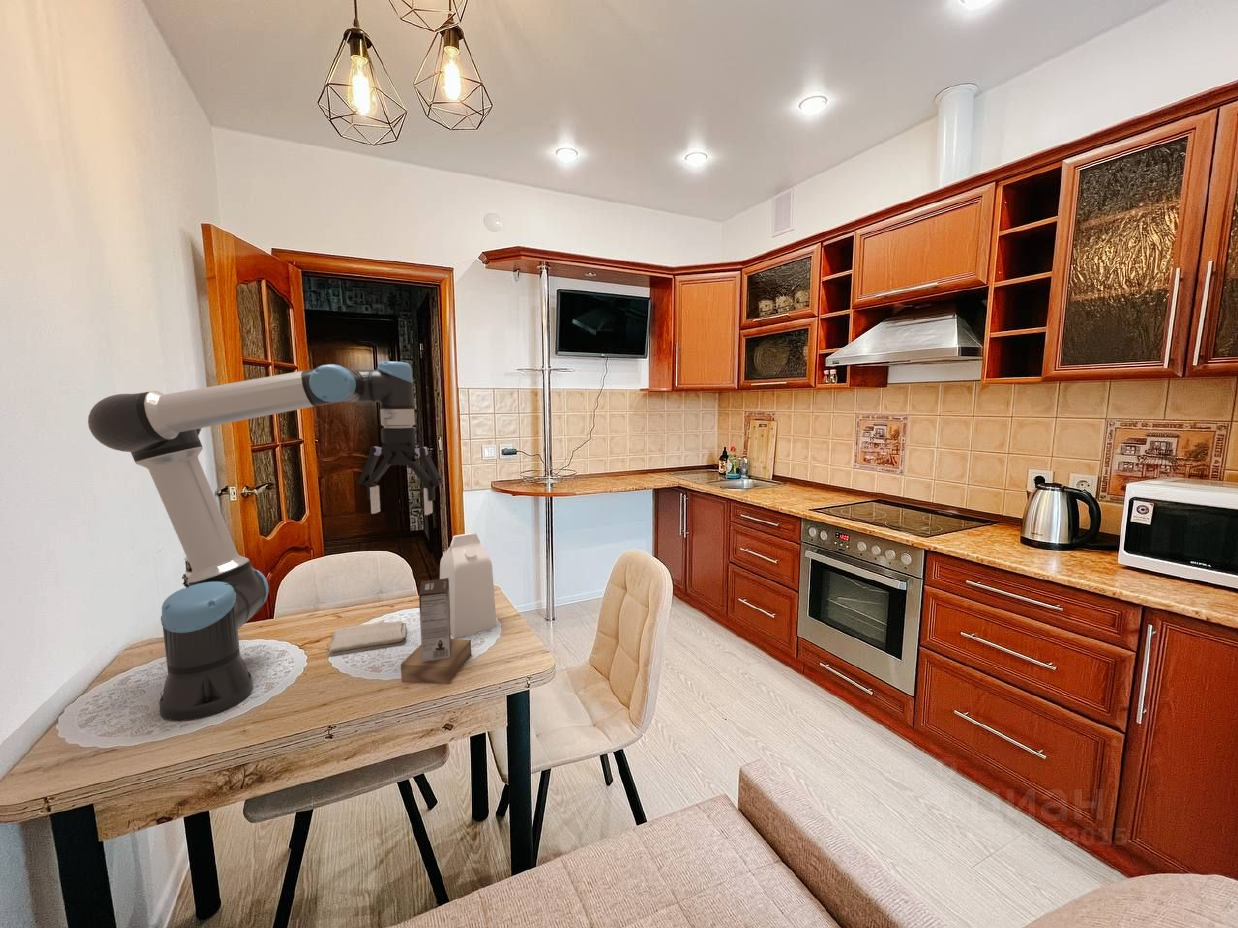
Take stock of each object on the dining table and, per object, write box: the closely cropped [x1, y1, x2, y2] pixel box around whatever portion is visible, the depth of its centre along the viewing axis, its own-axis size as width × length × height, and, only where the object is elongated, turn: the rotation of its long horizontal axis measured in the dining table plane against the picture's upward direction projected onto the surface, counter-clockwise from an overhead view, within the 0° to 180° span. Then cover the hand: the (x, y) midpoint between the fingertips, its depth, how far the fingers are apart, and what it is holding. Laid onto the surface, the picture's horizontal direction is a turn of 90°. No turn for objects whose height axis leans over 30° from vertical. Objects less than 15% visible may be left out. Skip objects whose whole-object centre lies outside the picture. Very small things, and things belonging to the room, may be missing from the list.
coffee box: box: [418, 578, 452, 662], centre depth 118 cm, size 9×6×16 cm
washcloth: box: [328, 620, 407, 657], centre depth 132 cm, size 12×18×3 cm, turn 113°
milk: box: [439, 532, 498, 639], centre depth 141 cm, size 12×12×26 cm
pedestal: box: [400, 638, 472, 685], centre depth 119 cm, size 11×13×4 cm
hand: (402, 513), depth 125 cm, fingers open, 13 cm apart
